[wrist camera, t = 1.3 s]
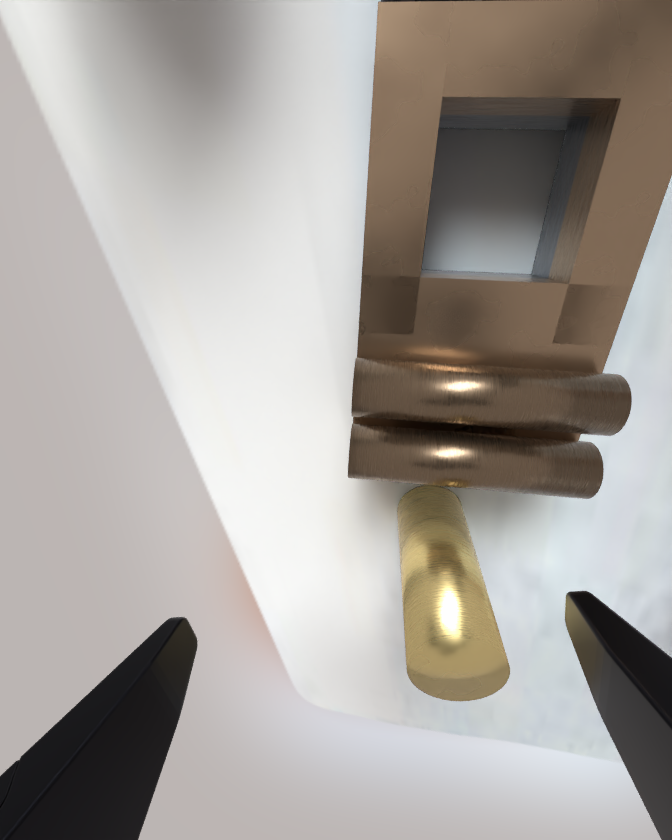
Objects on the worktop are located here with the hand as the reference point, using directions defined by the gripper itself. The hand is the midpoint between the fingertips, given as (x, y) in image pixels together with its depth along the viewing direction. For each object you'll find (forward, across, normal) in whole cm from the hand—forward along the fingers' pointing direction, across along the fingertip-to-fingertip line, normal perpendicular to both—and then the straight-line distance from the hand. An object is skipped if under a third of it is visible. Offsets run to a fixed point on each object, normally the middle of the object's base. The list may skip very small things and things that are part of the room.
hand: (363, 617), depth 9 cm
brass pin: (+14, -2, +8) cm, 16 cm away
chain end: (+14, -6, -5) cm, 16 cm away
